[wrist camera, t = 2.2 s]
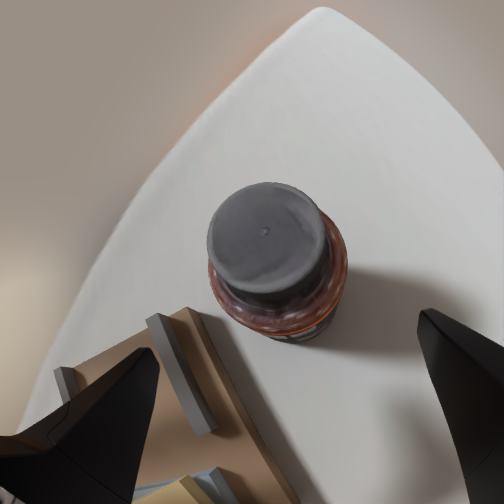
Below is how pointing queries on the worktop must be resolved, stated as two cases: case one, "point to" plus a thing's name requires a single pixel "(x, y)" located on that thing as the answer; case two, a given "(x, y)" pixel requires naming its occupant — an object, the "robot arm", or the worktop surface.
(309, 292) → the supplement bottle
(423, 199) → the worktop surface
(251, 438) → the shelf board
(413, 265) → the worktop surface
